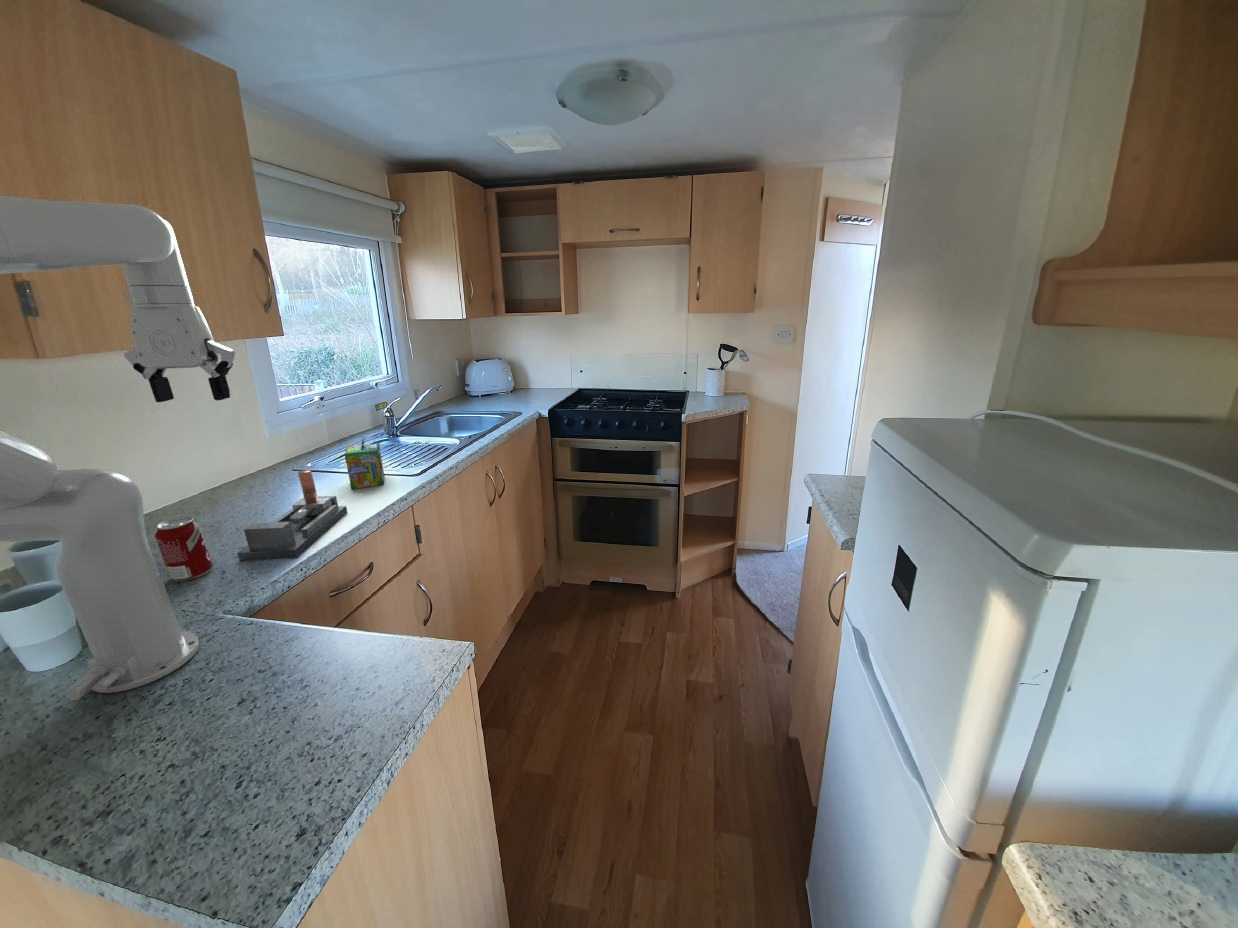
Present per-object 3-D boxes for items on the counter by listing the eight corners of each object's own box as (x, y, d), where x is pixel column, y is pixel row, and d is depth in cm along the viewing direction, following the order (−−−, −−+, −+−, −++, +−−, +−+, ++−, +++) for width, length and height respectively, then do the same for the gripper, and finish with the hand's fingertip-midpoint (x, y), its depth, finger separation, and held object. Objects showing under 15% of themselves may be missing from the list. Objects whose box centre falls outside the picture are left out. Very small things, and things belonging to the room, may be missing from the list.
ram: (312, 525, 116) (302, 482, 112) (280, 526, 115) (269, 483, 112) (333, 508, 125) (324, 468, 122) (303, 509, 125) (293, 469, 121)
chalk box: (353, 480, 152) (344, 435, 147) (385, 476, 155) (377, 431, 151) (350, 490, 144) (340, 442, 139) (384, 485, 147) (375, 439, 142)
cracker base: (296, 558, 105) (289, 529, 103) (239, 560, 105) (230, 531, 102) (347, 512, 128) (342, 488, 126) (300, 514, 127) (294, 490, 125)
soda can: (189, 585, 96) (170, 531, 92) (162, 582, 97) (142, 528, 93) (222, 567, 102) (205, 516, 98) (196, 565, 103) (179, 514, 100)
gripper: (86, 299, 76) (123, 405, 82) (200, 297, 77) (230, 402, 83) (128, 299, 83) (160, 397, 89) (233, 297, 84) (258, 394, 90)
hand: (194, 399), depth 86 cm, fingers open, 9 cm apart
